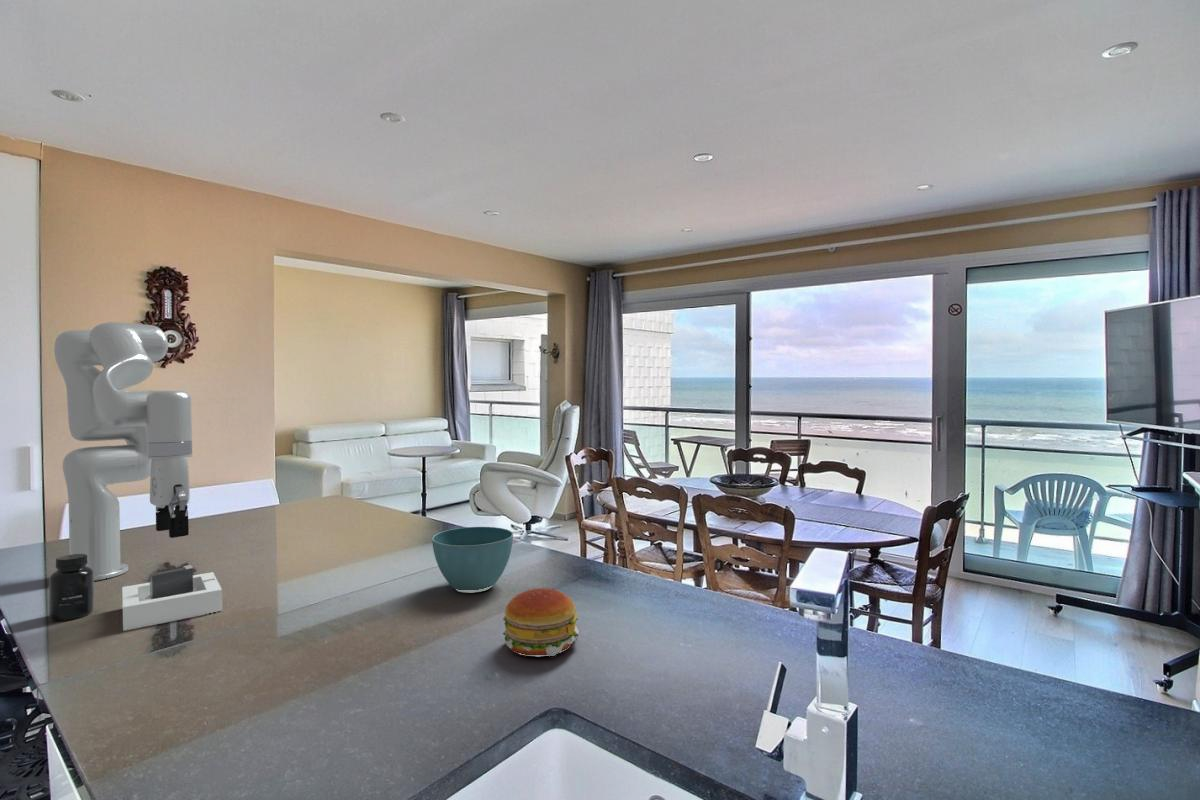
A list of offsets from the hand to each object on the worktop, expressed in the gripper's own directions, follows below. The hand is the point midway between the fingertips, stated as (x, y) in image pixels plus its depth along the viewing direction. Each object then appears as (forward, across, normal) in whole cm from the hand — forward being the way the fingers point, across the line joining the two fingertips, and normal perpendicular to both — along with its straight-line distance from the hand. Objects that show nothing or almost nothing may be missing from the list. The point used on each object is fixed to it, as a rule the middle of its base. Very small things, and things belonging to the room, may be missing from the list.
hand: (172, 533), depth 123 cm
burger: (+18, +70, +38) cm, 82 cm away
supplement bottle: (+16, -12, -14) cm, 25 cm away
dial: (+14, -1, 0) cm, 14 cm away
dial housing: (+16, -1, 0) cm, 16 cm away
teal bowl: (+17, +35, +49) cm, 63 cm away
